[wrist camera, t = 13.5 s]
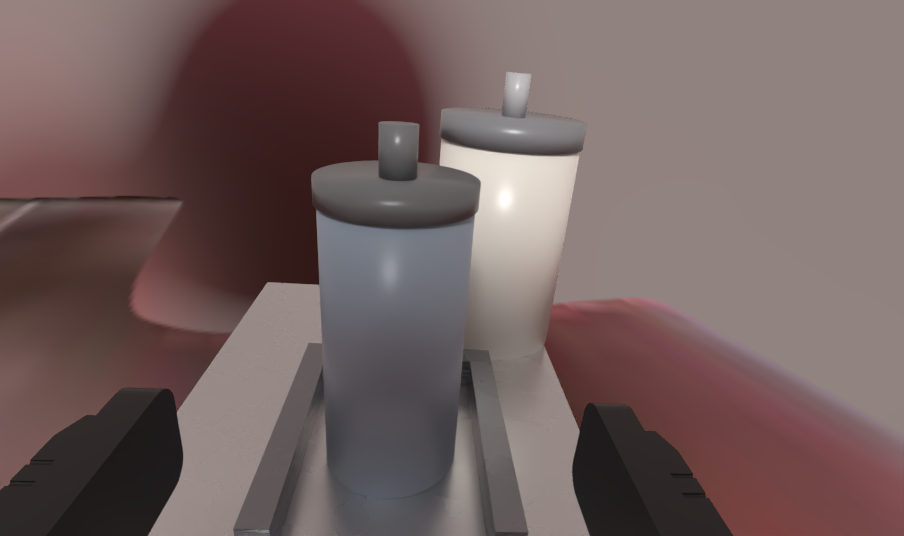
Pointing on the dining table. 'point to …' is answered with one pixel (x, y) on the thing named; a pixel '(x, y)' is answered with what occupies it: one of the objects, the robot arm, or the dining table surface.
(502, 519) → the mounting plate
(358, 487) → the grey lidded canister
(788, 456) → the dining table surface
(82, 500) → the robot arm
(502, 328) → the white lidded canister
